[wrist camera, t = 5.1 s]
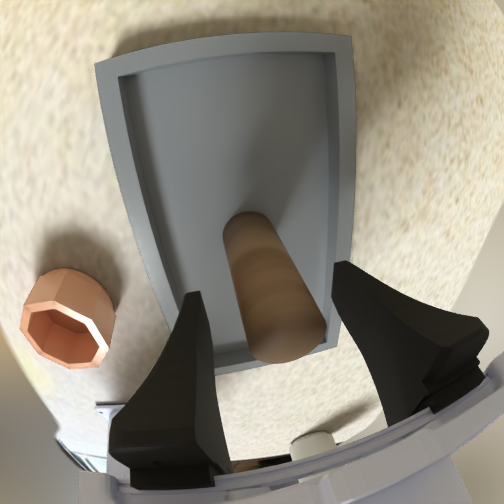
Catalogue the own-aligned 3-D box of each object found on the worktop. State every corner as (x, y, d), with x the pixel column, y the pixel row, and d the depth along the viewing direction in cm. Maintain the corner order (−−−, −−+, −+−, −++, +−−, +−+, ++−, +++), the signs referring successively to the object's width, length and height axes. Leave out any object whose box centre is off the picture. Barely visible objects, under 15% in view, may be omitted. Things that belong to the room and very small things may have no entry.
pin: (274, 251, 18) (323, 352, 11) (226, 260, 18) (252, 370, 11) (271, 207, 16) (329, 300, 10) (218, 216, 16) (243, 320, 9)
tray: (328, 329, 24) (337, 346, 22) (191, 360, 23) (192, 379, 21) (333, 40, 12) (351, 36, 10) (106, 66, 11) (94, 63, 9)
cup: (126, 328, 20) (120, 365, 17) (61, 336, 19) (51, 370, 16) (93, 260, 16) (78, 295, 13) (24, 275, 16) (5, 308, 13)
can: (338, 430, 41) (361, 487, 31) (305, 448, 43) (324, 502, 33) (314, 427, 37) (338, 493, 27) (278, 446, 39) (297, 508, 29)
